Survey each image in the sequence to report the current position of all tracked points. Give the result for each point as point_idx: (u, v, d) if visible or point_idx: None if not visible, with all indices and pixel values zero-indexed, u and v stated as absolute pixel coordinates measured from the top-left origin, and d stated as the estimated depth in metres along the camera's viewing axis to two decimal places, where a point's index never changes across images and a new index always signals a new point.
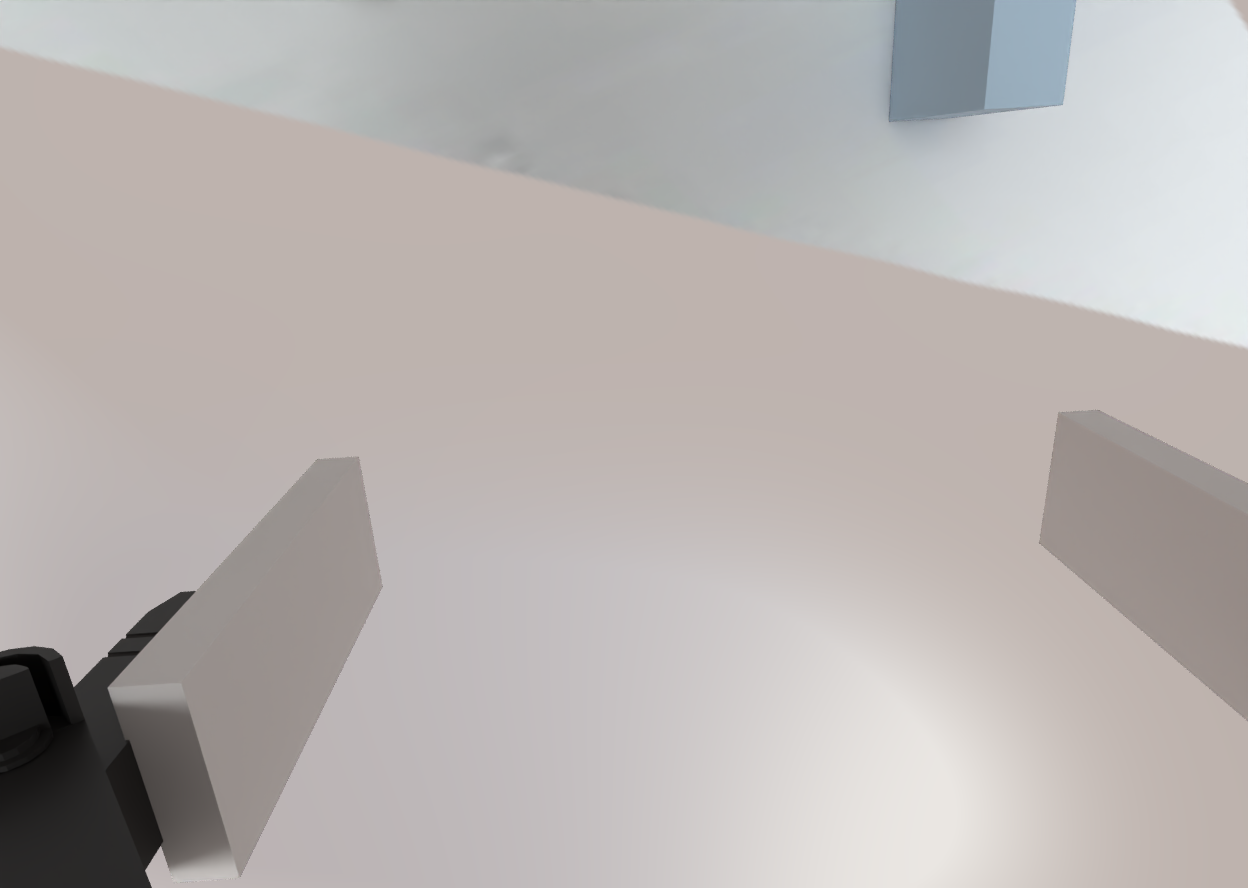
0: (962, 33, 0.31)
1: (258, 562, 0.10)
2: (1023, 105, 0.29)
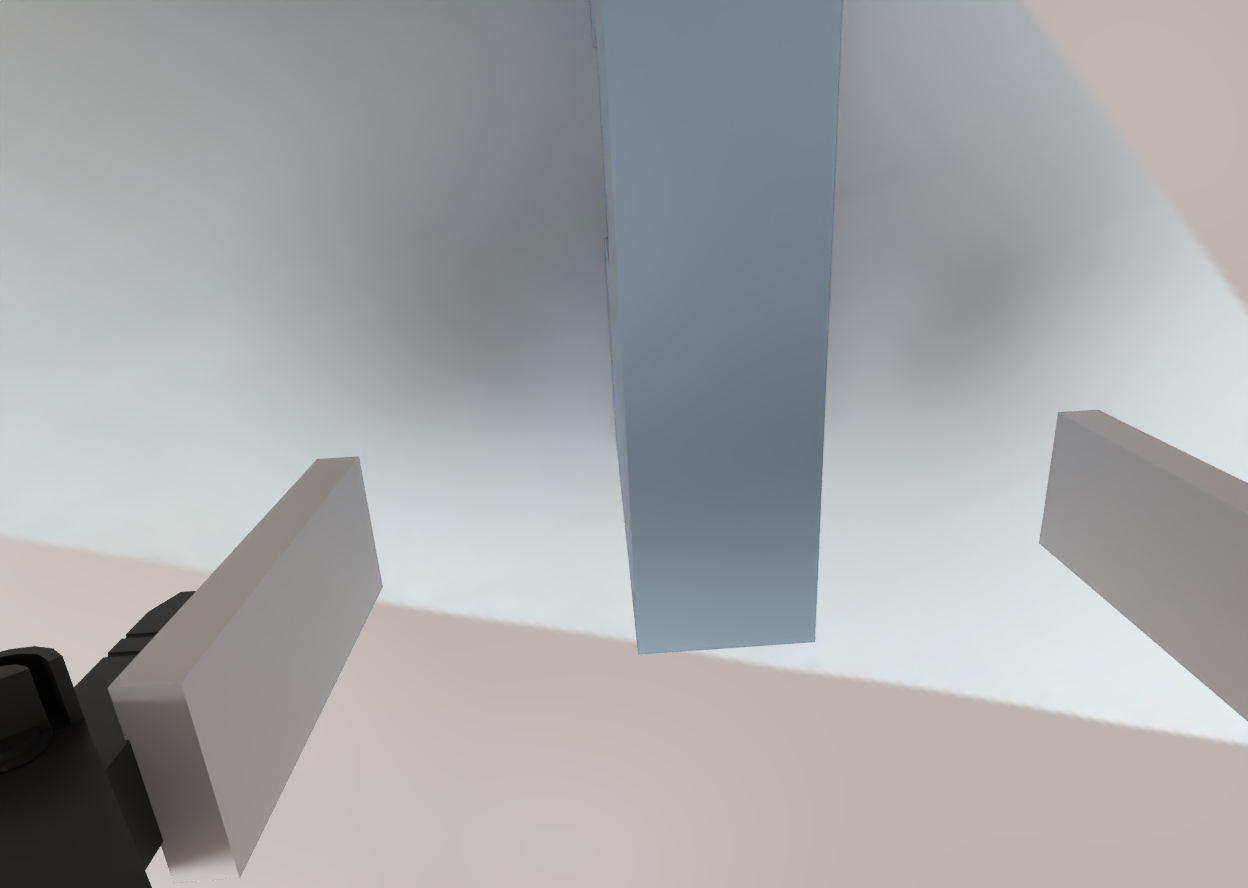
0: (622, 440, 0.14)
1: (258, 562, 0.10)
2: (725, 645, 0.13)
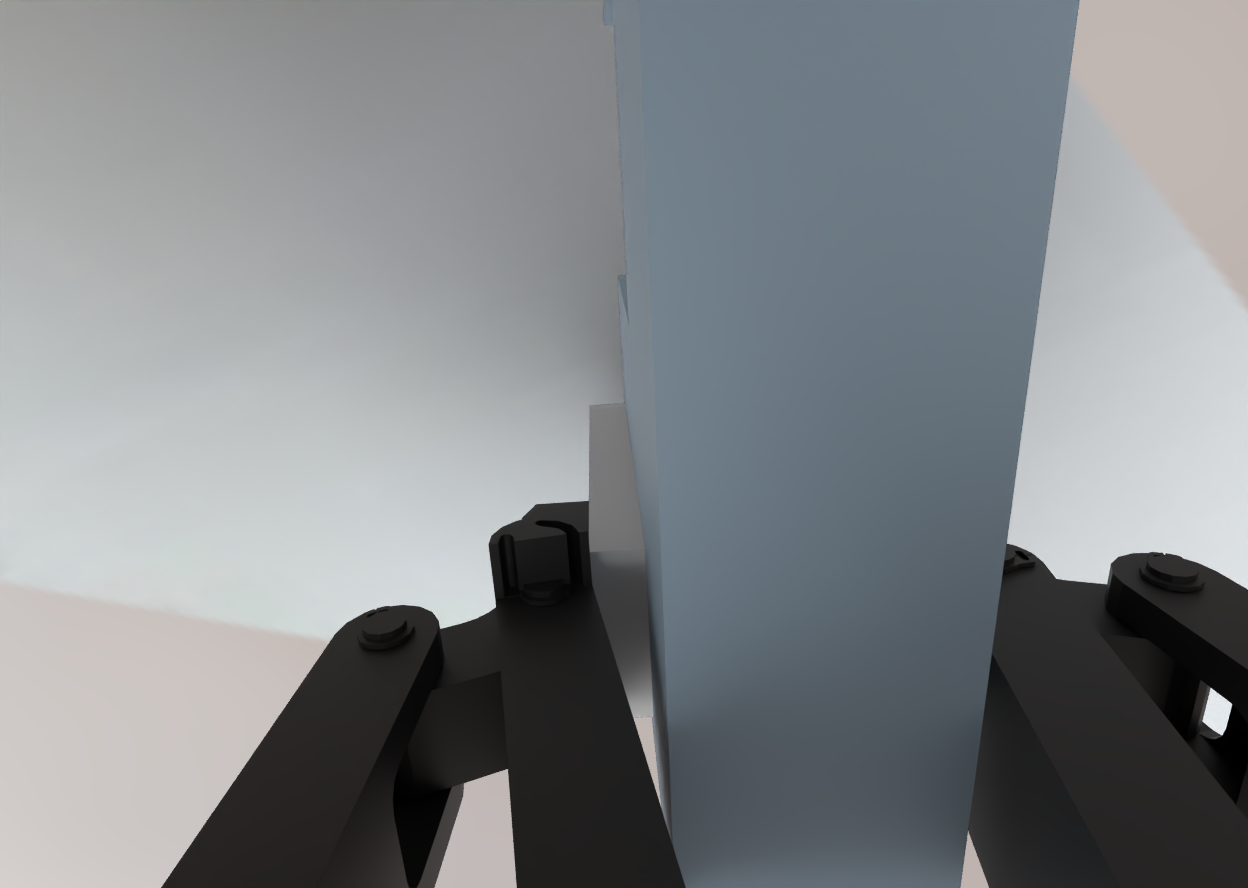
0: (649, 592, 0.10)
1: (620, 475, 0.13)
2: None
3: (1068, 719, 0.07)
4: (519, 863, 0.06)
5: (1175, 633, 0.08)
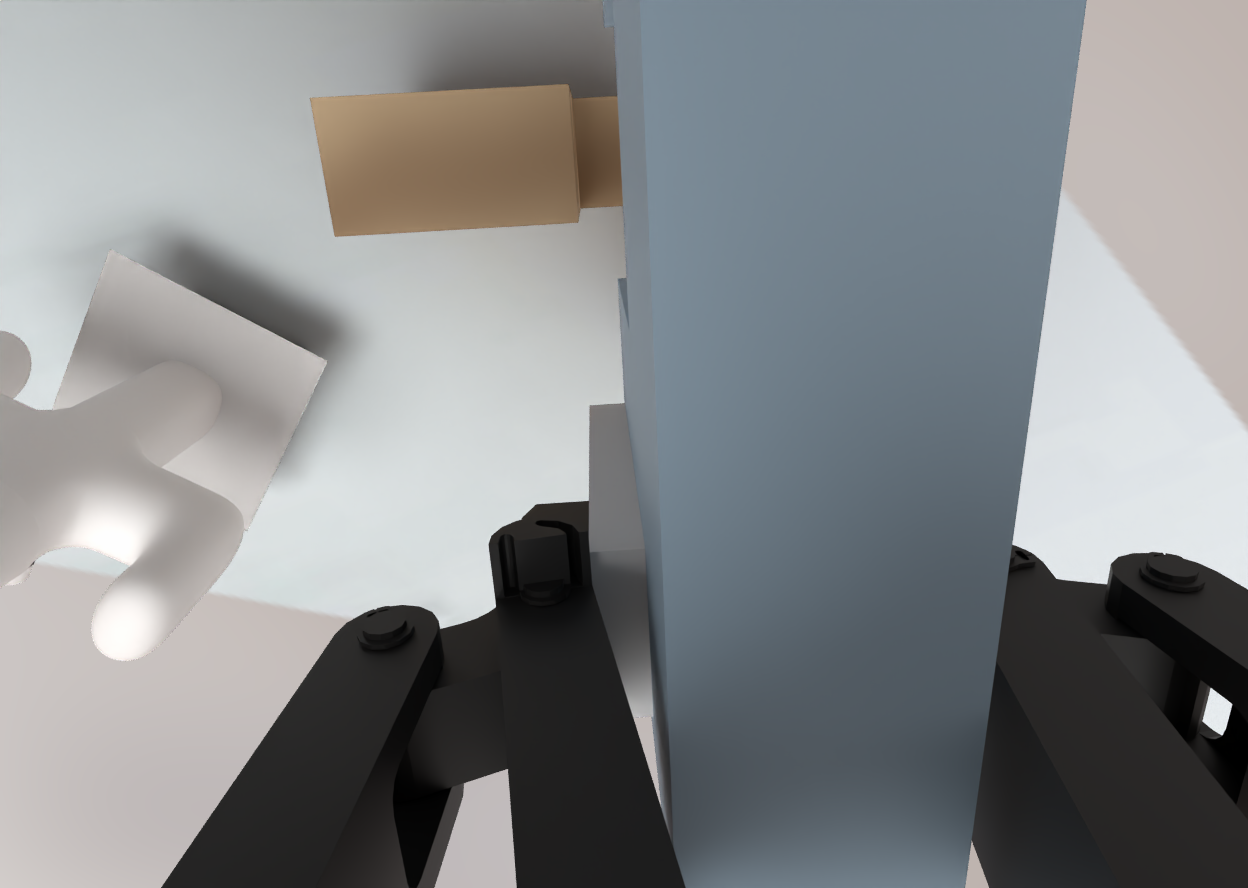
0: (649, 600, 0.10)
1: (620, 474, 0.13)
2: None
3: (1068, 719, 0.07)
4: (519, 863, 0.06)
5: (1175, 633, 0.08)
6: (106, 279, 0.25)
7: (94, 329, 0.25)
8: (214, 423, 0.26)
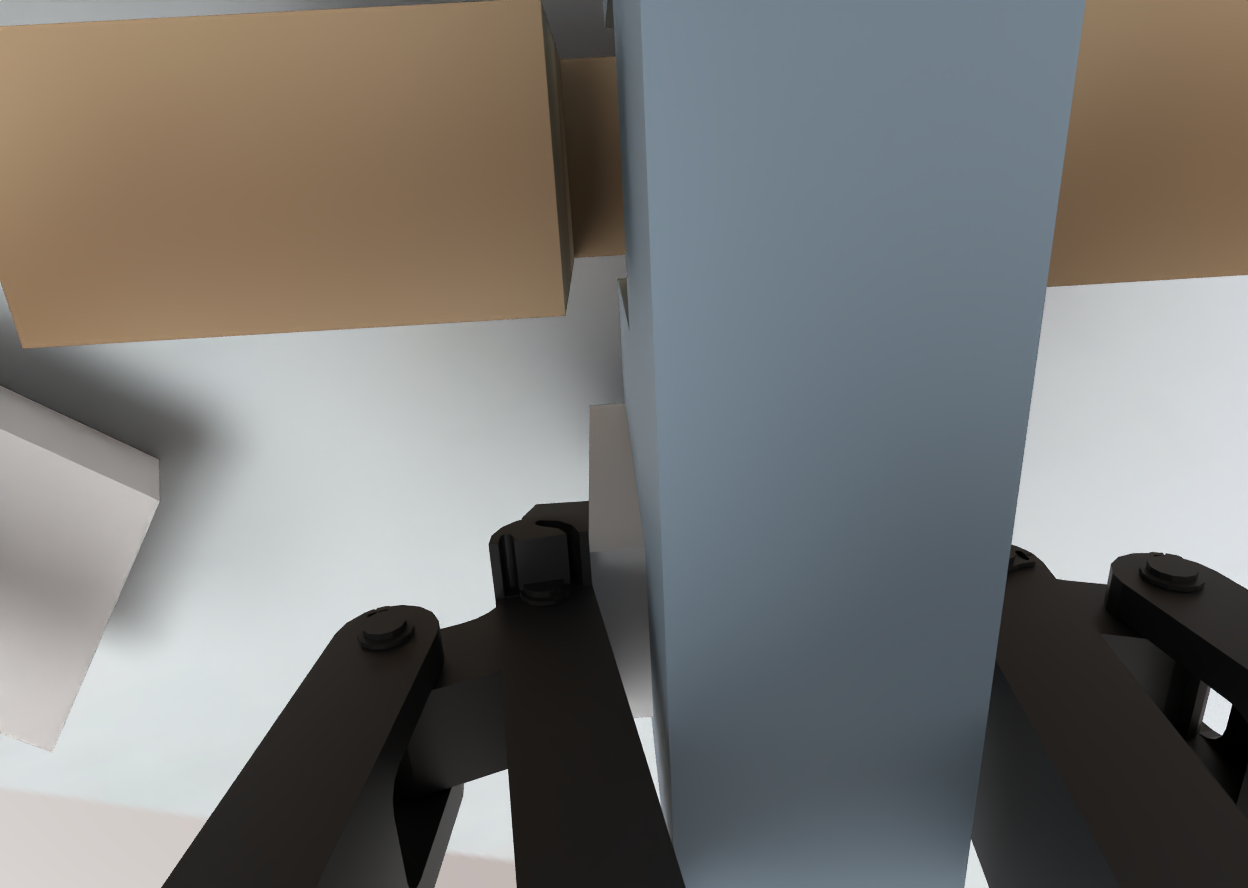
0: (650, 599, 0.10)
1: (620, 475, 0.13)
2: None
3: (1068, 719, 0.07)
4: (519, 863, 0.06)
5: (1175, 633, 0.08)
6: None
7: None
8: None
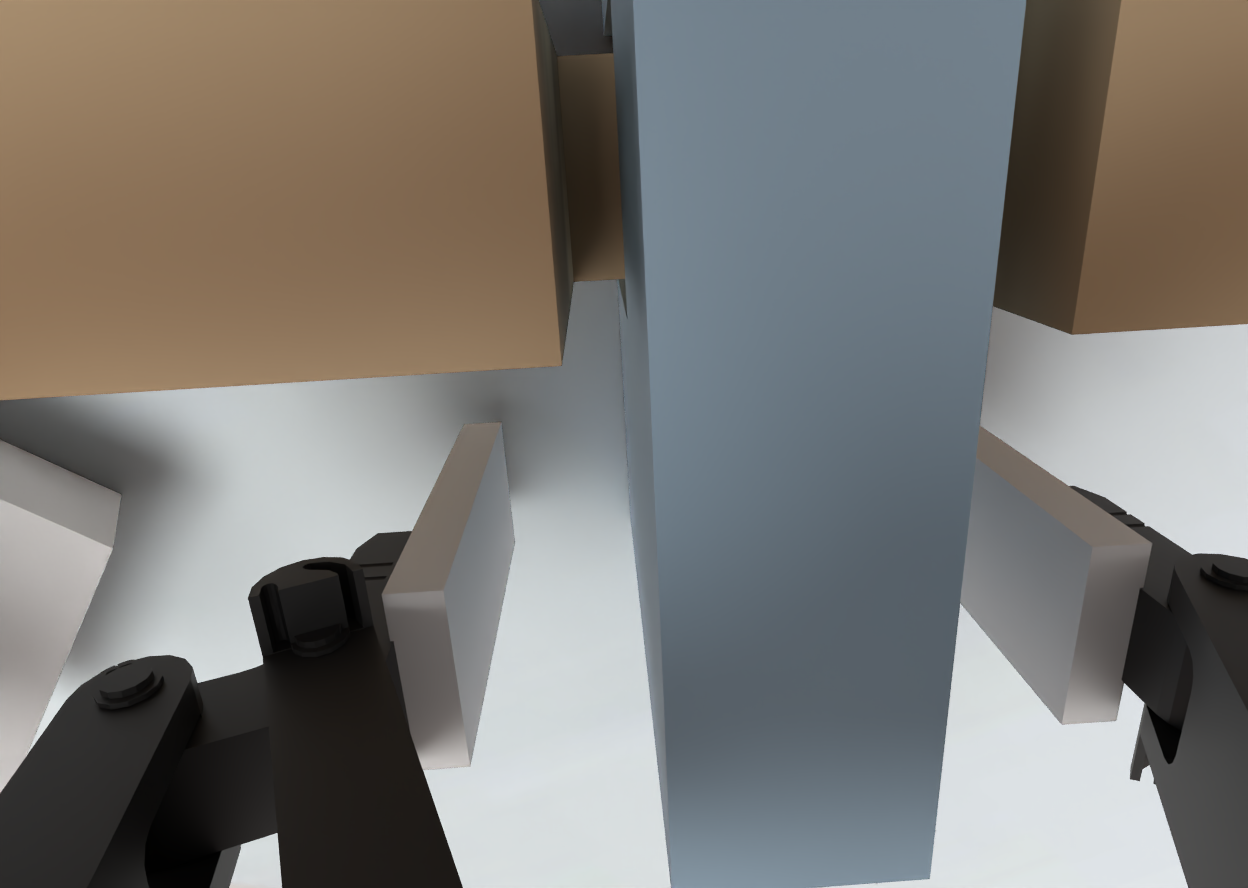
0: (646, 568, 0.10)
1: (458, 503, 0.12)
2: (799, 885, 0.09)
3: None
4: None
5: None
6: None
7: None
8: None
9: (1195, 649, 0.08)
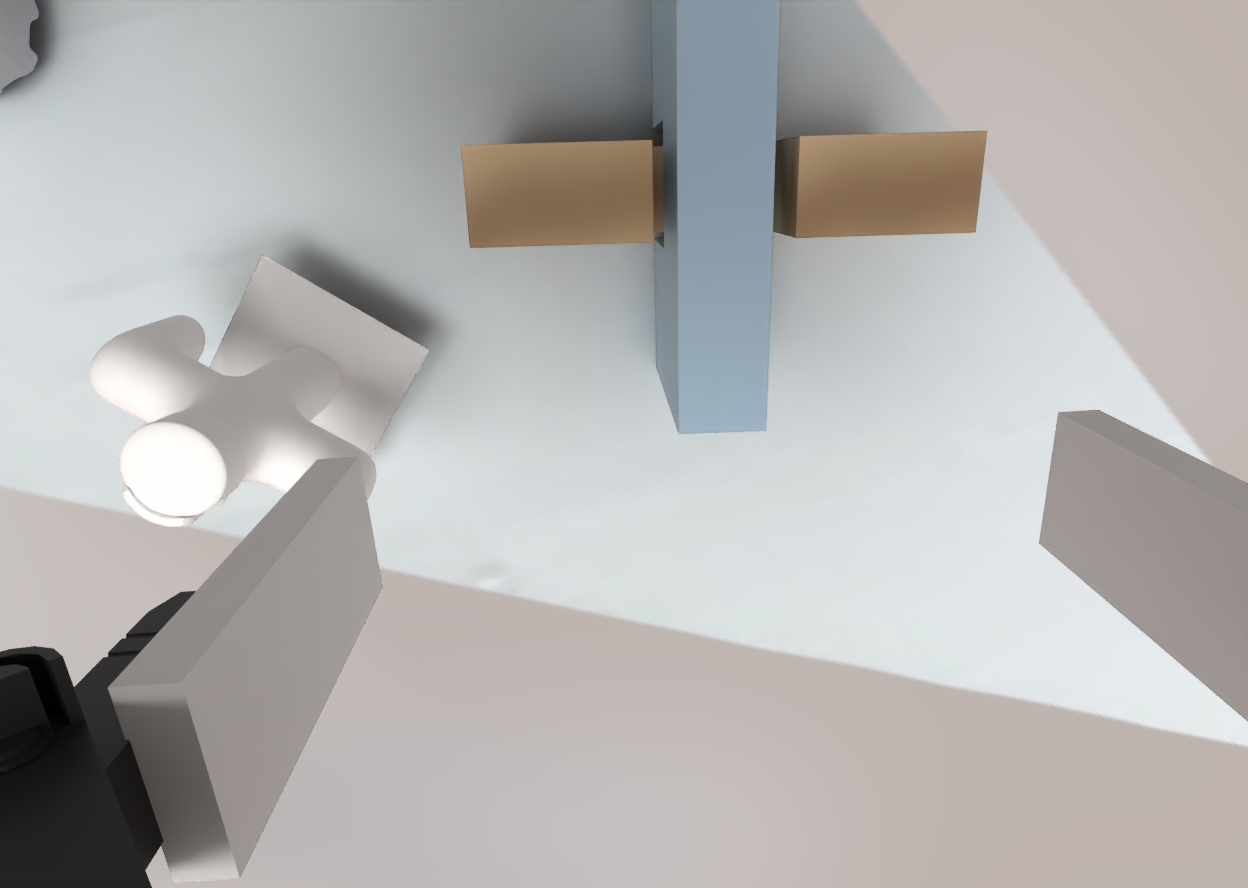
0: (671, 335, 0.28)
1: (258, 562, 0.10)
2: (722, 430, 0.27)
3: None
4: None
5: None
6: (257, 279, 0.30)
7: (243, 319, 0.31)
8: (332, 399, 0.32)
9: None
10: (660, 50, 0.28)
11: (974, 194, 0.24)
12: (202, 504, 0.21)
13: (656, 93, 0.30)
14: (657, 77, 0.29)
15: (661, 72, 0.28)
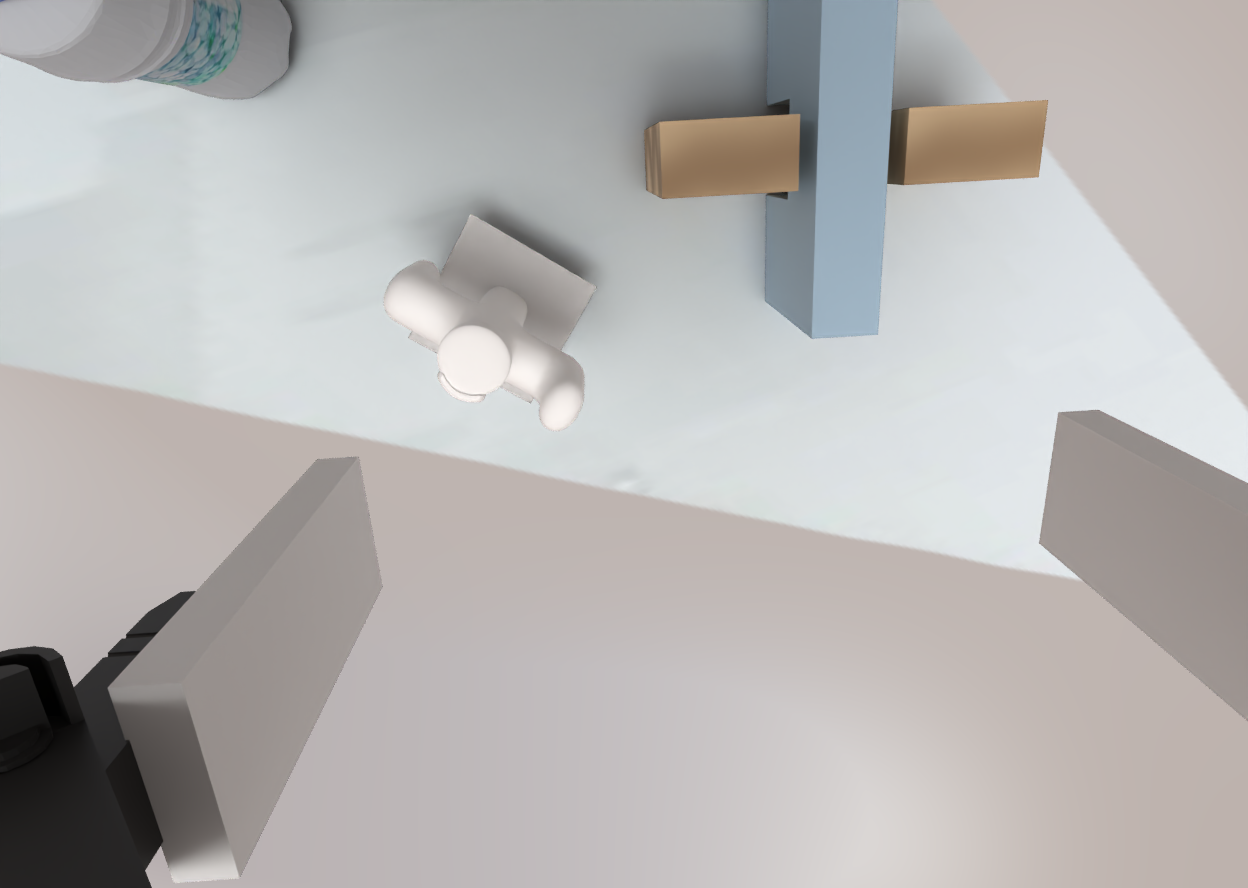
0: (799, 265, 0.36)
1: (258, 562, 0.10)
2: (844, 335, 0.35)
3: None
4: None
5: None
6: (465, 233, 0.39)
7: (453, 265, 0.39)
8: None
9: None
10: (787, 44, 0.36)
11: (1038, 148, 0.33)
12: (493, 385, 0.30)
13: (776, 77, 0.38)
14: (779, 65, 0.38)
15: (788, 61, 0.36)
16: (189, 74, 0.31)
